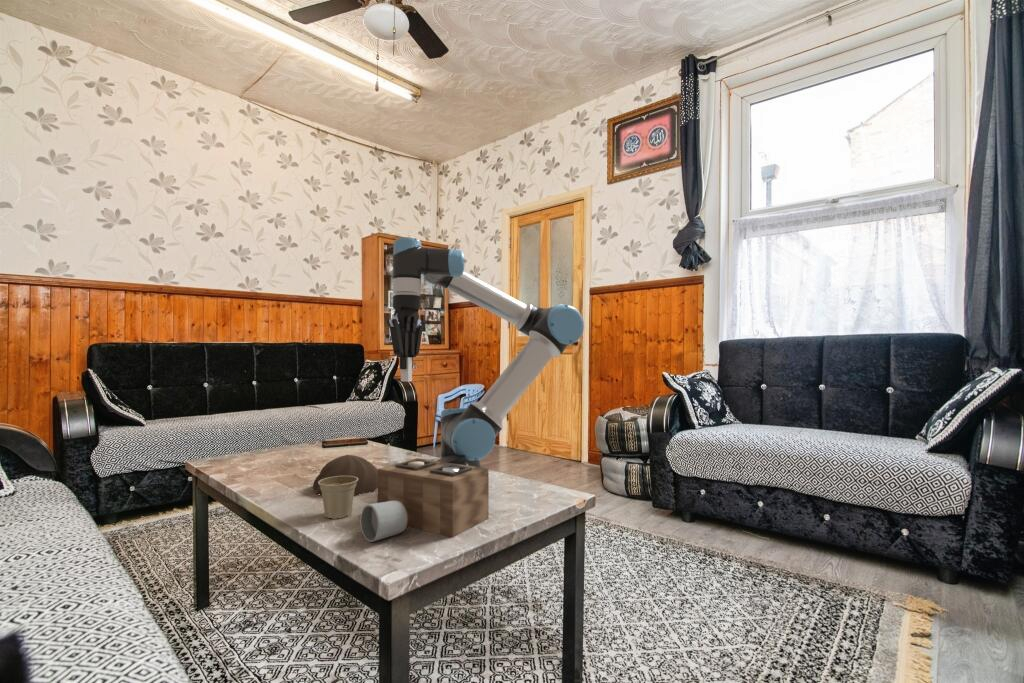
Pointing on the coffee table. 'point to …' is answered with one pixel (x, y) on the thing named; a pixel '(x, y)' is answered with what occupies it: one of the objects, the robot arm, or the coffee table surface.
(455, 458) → the jar
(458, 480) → the walnut block
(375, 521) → the ceramic mug
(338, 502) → the flower pot
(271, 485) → the coffee table surface
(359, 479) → the decorative dome
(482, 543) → the coffee table surface
